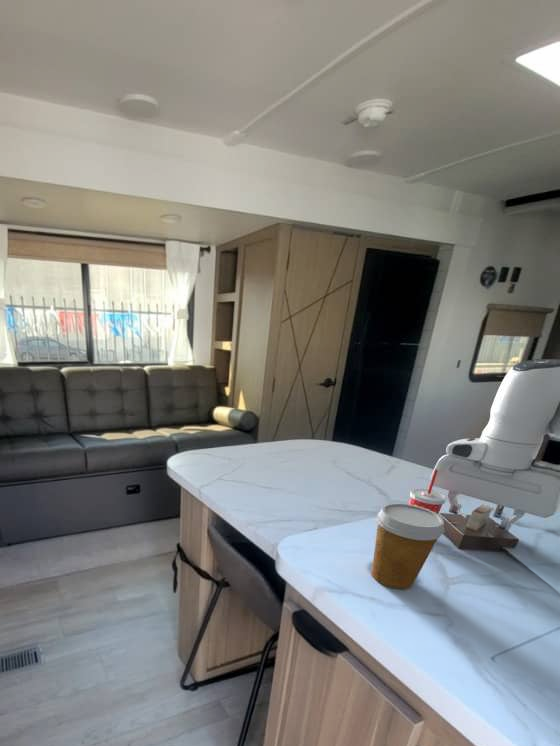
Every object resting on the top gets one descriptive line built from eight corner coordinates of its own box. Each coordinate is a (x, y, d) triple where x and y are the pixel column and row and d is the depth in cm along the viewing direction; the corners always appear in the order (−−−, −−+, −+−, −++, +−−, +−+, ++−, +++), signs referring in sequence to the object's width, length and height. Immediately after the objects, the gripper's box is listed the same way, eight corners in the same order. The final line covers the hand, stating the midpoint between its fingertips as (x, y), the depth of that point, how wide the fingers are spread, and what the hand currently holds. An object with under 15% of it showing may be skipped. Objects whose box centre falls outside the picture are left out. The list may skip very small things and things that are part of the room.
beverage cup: (431, 545, 79) (455, 478, 73) (397, 536, 82) (417, 471, 76) (432, 533, 84) (455, 468, 78) (400, 525, 86) (419, 462, 80)
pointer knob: (476, 519, 83) (483, 502, 81) (486, 522, 82) (493, 505, 80) (466, 527, 80) (472, 510, 78) (476, 530, 78) (483, 513, 77)
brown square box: (483, 528, 86) (488, 515, 85) (514, 553, 77) (520, 538, 76) (433, 524, 87) (437, 511, 86) (458, 549, 78) (463, 534, 76)
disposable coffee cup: (436, 586, 66) (460, 520, 61) (400, 602, 62) (423, 534, 57) (384, 558, 74) (402, 498, 69) (349, 571, 70) (365, 508, 64)
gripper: (583, 465, 69) (548, 536, 75) (451, 438, 83) (430, 499, 89) (575, 472, 65) (539, 546, 71) (438, 442, 79) (418, 506, 85)
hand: (478, 520), depth 80 cm, fingers open, 7 cm apart
